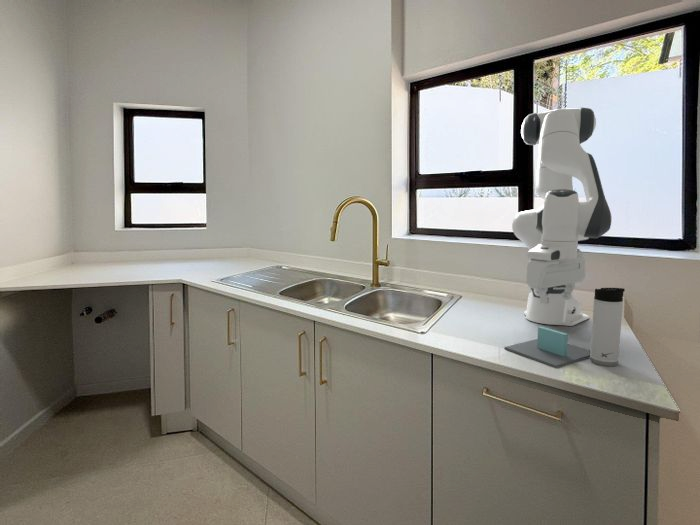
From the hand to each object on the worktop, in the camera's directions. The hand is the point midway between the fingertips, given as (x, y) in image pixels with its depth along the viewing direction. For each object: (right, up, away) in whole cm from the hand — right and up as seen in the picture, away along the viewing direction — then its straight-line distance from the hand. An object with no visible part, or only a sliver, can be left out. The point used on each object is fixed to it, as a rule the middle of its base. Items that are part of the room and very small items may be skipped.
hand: (555, 301), depth 112 cm
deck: (-1, -14, +1) cm, 14 cm away
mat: (0, -14, +3) cm, 15 cm away
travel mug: (+10, -16, -5) cm, 19 cm away
